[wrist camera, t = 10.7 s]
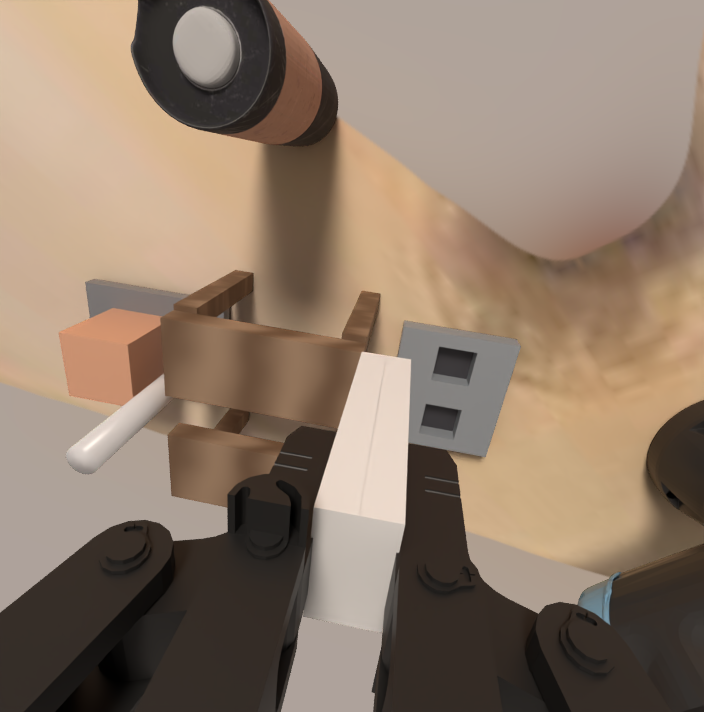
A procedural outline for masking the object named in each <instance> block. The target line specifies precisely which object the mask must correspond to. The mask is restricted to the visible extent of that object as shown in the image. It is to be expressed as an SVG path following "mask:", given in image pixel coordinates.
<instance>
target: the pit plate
mask: <svg viewBox="0 0 704 712" xmlns="http://www.w3.org/2000/svg"><path fill="white" fill-rule="evenodd" d="M520 347H521V346H520V344H519V343H518V341H517V339H511V338H506V337H500V336H494V335H488V334H482V333H476V332H470V331H464V330H458V329H452V328H446V327H440V326H434V325H428V324H422V323H416V322H410V321H404V325H403V330H402V335H401V340H400V346H399V351H398V356H397V357H399V358H405V359H411V377H410V405H409V432H408V443H413V444H418V445H424V446H429V447H434V448H440V449H445V450H450V451H456V452H461V453H466V454H471V455H477V456H482V457H486V454H487V451H488V448H489V445H490V442H491V438H492V435H493V432H494V429H495V426H496V423H497V420H498V416H499V413H500V410H501V407H502V404H503V401H504V398H505V394H506V391H507V388H508V385H509V382H510V379H511V376H512V373H513V369H514V366H515V363H516V360H517V357H518V354H519V351H520Z"/></svg>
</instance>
